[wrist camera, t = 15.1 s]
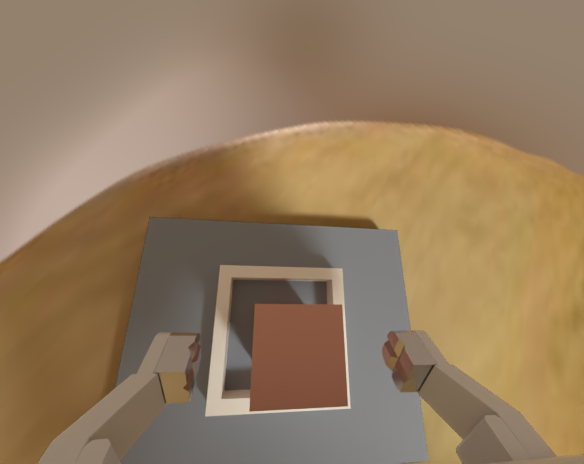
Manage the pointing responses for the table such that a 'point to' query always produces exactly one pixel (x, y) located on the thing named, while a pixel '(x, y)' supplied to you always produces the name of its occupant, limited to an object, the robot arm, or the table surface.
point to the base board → (239, 342)
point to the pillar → (298, 357)
